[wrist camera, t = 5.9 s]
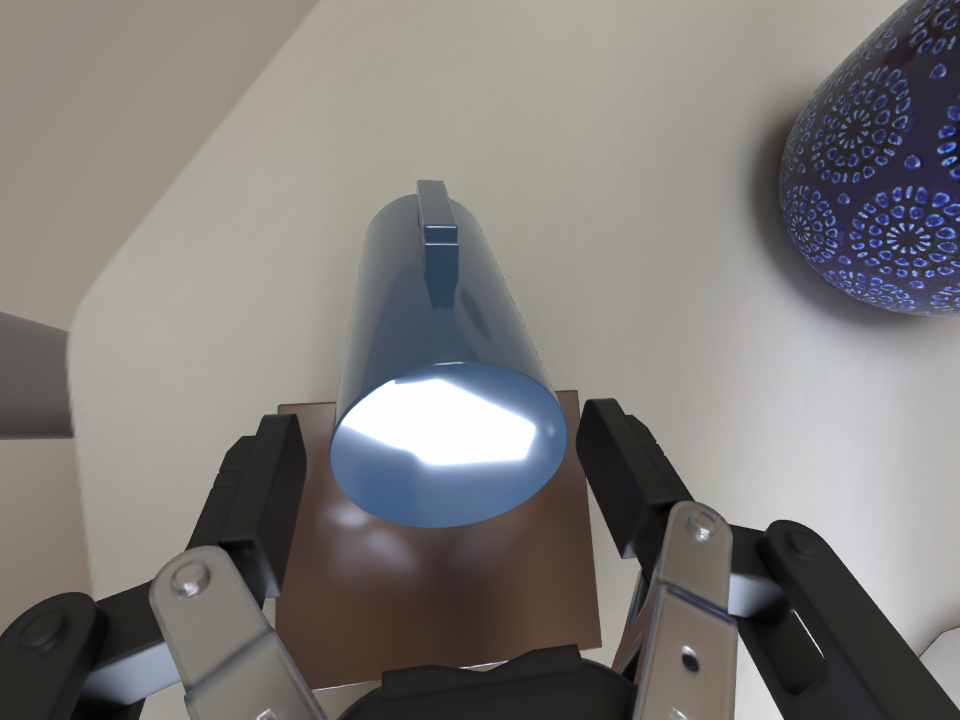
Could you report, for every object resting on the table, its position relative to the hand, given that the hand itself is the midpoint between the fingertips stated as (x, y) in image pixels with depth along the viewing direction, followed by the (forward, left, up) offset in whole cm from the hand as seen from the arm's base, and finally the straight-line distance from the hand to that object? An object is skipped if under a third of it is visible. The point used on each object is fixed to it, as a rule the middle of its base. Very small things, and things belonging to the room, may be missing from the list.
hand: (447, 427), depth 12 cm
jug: (0, +4, -10) cm, 11 cm away
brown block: (0, -4, -10) cm, 11 cm away
